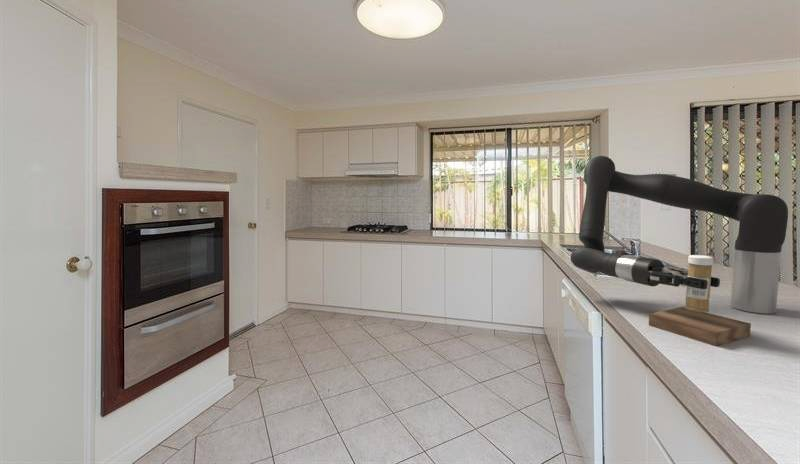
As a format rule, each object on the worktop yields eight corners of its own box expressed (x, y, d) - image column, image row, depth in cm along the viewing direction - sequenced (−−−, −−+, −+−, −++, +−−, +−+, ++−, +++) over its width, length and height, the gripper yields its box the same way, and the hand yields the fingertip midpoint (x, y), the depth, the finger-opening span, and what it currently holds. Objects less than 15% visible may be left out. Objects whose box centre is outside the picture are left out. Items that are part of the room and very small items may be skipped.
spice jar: (711, 310, 83) (716, 256, 82) (705, 314, 81) (710, 258, 79) (688, 305, 87) (692, 253, 86) (681, 309, 84) (685, 255, 83)
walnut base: (681, 317, 93) (682, 306, 93) (749, 335, 80) (750, 323, 80) (648, 325, 88) (649, 313, 88) (715, 346, 75) (716, 332, 75)
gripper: (622, 258, 93) (696, 270, 77) (656, 255, 99) (731, 265, 83) (620, 285, 94) (693, 303, 78) (654, 280, 99) (728, 296, 83)
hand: (712, 283), depth 81 cm, fingers closed on spice jar, 4 cm apart
